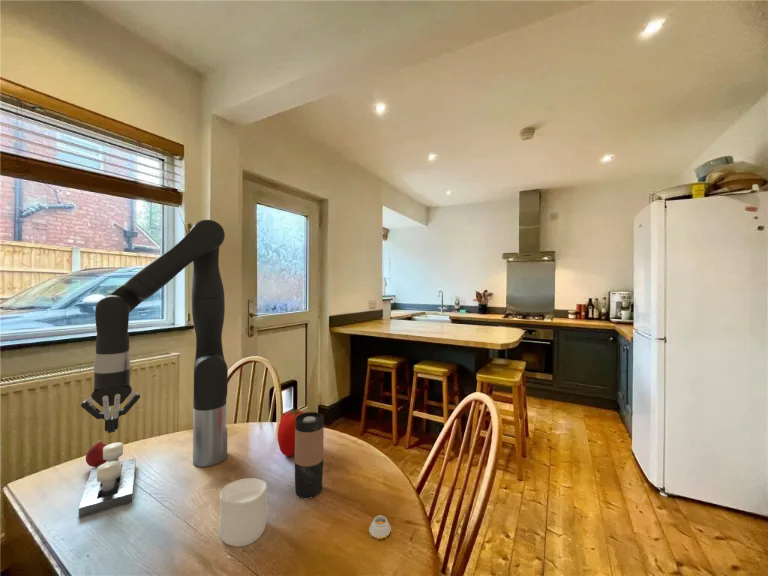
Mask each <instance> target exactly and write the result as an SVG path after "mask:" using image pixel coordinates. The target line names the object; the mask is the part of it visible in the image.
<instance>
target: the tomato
mask: <svg viewBox="0 0 768 576" xmlns="http://www.w3.org/2000/svg"><path fill="white" fill-rule="evenodd" d="M303 413H306V412H305V411H302V409H301V408H300V409H293V410H288V411H287V412H286V413H284V415H283V416H282V417H281V419H280V422H279V425H278V428H277V435H276V436H277V443H278V448H279V450H280V452H281V454H282V455H284V456H286V457H290V456H295V422H296V417H297V416H298V415H300V414H303Z"/></svg>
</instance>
